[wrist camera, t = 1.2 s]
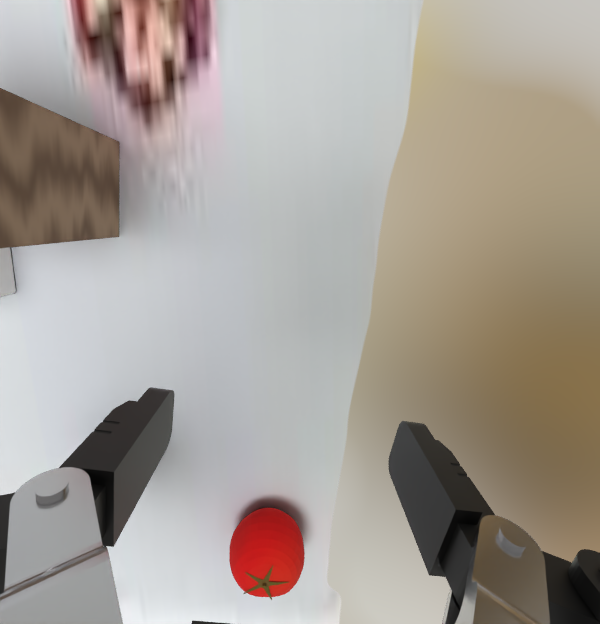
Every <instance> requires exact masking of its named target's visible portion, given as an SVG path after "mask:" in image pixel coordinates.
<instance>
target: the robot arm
mask: <svg viewBox="0 0 600 624" xmlns="http://www.w3.org/2000/svg"><path fill="white" fill-rule="evenodd" d="M173 407H174V391H172V390H165V389H158V388H149V389H148V390H147V391H146V392H145V393H144V394H143V396H142V397H141V398H140V399H139V400H138V402H137V401H127V402H125V403H124V404H122V405H120V406H118V407H116V408H115V409H113V410H112V411H111V413H110V414H109V415H108V416H107V417H106V418H105V419H104V420H103V422H101V423H100V424H99V425H98V427H97V428H96V429H95V431H94V432H92V433H91V434H90V435H89V436H88V437H87V438H86V439H85V440H84V442H83V443H82V444H81V445H80V446H79V447H78V448H77V449H76V450H75V451H74V452H73V453H72V454H71V456H70V457H69V458H68V459H67V460H66V461H65V462H64V463H63V464H62V465H61V466H60V467H59V468H57V469H53V470H49V471H46V472H44V473H41V474H39V475H37V476H35V477H34V478H32V479H30V480H29V481H27V482H26V483H25V484H23V485H22V486H21V487H20V488H19V489H18V490H17V491H16V492H15V493H12V494H6V495H0V624H123V622H122V617H121V612H120V607H119V602H118V597H117V592H116V587H115V582H114V577H113V572H112V567H111V562H110V558H109V553H108V550H107V547H106V546H113V547H114V545H115V543H116V541H117V539H118V537H119V536H120V534H121V532H122V530H123V528H124V526H125V524H126V523H127V521H128V519H129V517H130V515H131V513H132V512H133V510H134V508H135V506H136V504H137V502H138V500H139V499H140V497H141V495H142V493H143V491H144V489H145V487H146V486H147V484H148V482H149V480H150V478H151V476H152V475H153V473H154V471H155V469H156V467H157V465H158V463H159V462H160V460H161V458H162V456H163V454H164V452H165V450H166V448H167V446H168V444H169V441H170V437H171V432H172V421H173ZM389 472H390V475H391V479H392V481H393V484H394V486H395V489H396V491H397V494H398V497H399V499H400V502H401V504H402V507H403V509H404V512H405V514H406V517H407V519H408V522H409V525H410V527H411V530H412V532H413V535H414V537H415V540H416V543H417V545H418V548H419V550H420V553H421V555H422V558H423V561H424V563H425V565H426V568H427V571H428V573H429V575H432V576H443V577H446V579H447V581H448V583H449V585H450V587H451V590H450V592H449V594H448V598H447V603H446V608H445V612H444V617H443V622H442V624H600V553H598V552H596V551H592V550H586V549H584V550H580V551H579V552H578V554H577V555H576V557H575V559H574V561H573V562H572V563H571V562H569V561H566V560H564V559H561V558H559V557H556V556H553V555H551V554H548V553H546V552H543V551H541V549H540V547H539V546H538V544H537V543H536V542H535V541H534V539H533V538H532V537H531V536H530V535H529V534H528V533H527V532H526V531H524V530H523V529H522V528H520V527H519V526H518V525H516V524H514V523H513V522H511V521H509V520H507V519H505V518H503V517H500V516H496V515H495V514H494V513H493V511H492V510H491V508H490V507H489V506H488V504H487V503H486V501H485V500H484V498H483V497H482V495H481V494H480V492H479V491H478V490H477V488H476V487H475V485H474V484H473V482H472V481H471V479H470V478H469V477H467V474H466V472H465V471H464V469H463V468H462V467H461V466H460V464H459V462H458V461H457V459H456V458H455V456H454V455H453V453H452V452H451V451H450V450H449V449H448V448H446V447H445V446H444V445H443V444H442V443H441V442H440V441H438V440H435V439H434V437H433V436H432V434H431V433H430V431H429V430H428V428H427V427H426V425H424V424H421V423H413V422H406V421H402V422H401V423H400V424H399V427H398V430H397V433H396V436H395V440H394V443H393V446H392V449H391V453H390V456H389ZM192 624H228V623H215V622H203V621H192Z"/></svg>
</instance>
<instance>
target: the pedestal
mask: <svg viewBox="0 0 600 624" xmlns="http://www.w3.org/2000/svg"><path fill="white" fill-rule="evenodd" d="M110 237H119V142H118V141H116V140H114V139H111V138H109V137H107V136H105V135H103V134H100V133H98V132H96V131H94V130H92V129H89V128H87V127H85V126H83V125H81V124H78V123H76V122H74V121H72V120H70V119H67V118H65V117H63V116H61V115H59V114H56V113H54V112H52V111H50V110H48V109H45V108H43V107H41V106H39V105H37V104H34V103H32V102H30V101H28V100H25V99H23V98H21V97H19V96H17V95H14V94H12V93H10V92H8V91H6V90H3V89H1V88H0V248H9V247H19V246H29V245H39V244H49V243H60V242H70V241H80V240H90V239H100V238H110Z"/></svg>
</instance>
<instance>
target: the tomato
mask: <svg viewBox="0 0 600 624" xmlns="http://www.w3.org/2000/svg"><path fill="white" fill-rule="evenodd" d="M303 565H304V545H303V538H302V535H301V532H300V529H299V527H298V525H297V523H296V522H295V521H294V519H293V518H292V517H291V516H290V515H288V514H286V513H285V512H283V511H281V510H279V509H275V508H261V509H258V510H256V511H254V512H252V513H251V514H249V515H248V516H246V517H245V518H244V519H243V520H242V521H241V522H240V523H239V525H238V526H237V528H236V529H235V531H234V533H233V536H232V539H231V543H230V566H231V571H232V574H233V576H234V578H235V580H236V582H237V584H238V585H239V586H240V588H241V589H243V590H244V591H245V593H248V594H250V595H254V596H258V597H270V598H271V597H275V596H280V595H283V594H286V593H287V592H289V591H290V590H291V589H292V588H293V587H294V585H295V584H296V583H297V581H298V579H299V577H300V575H301V572H302V569H303ZM245 593H244V594H245ZM271 600H272V598H271Z"/></svg>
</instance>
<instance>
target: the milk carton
mask: <svg viewBox="0 0 600 624" xmlns="http://www.w3.org/2000/svg"><path fill="white" fill-rule="evenodd" d="M15 292H16V289H15V281H14V273H13V266H12V258H11V250H10V247H9V248H0V297H2V296H6V295H10V294H14V293H15Z"/></svg>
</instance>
